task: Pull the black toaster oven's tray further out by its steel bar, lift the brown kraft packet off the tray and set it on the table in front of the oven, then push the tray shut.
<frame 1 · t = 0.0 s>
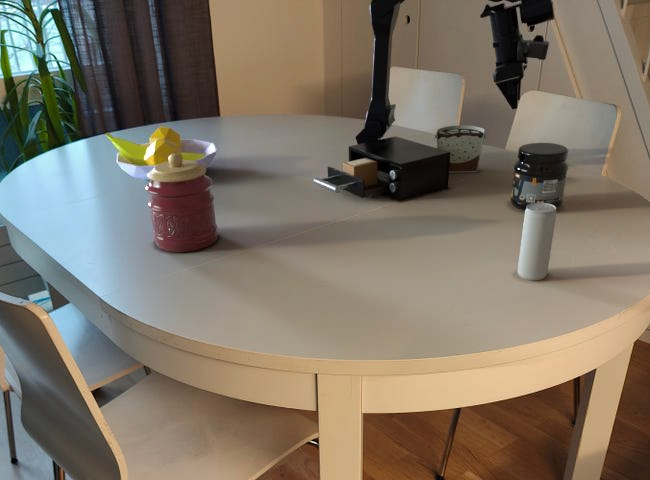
hand: (516, 104, 159), 15 cm above the table, tool pointing down, fingers open, 9 cm apart
packet: (360, 184, 159), point 2 cm above the table, touching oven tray
toaster oven: (397, 184, 163), on the table
fruit bowl: (166, 174, 182), on the table
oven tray: (357, 178, 158), point 3 cm above the table, slide at 7.0 cm, touching packet
supplement container: (535, 206, 145), on the table
kitchen canister: (187, 241, 139), on the table
food container: (456, 169, 171), on the table
beverage can: (531, 276, 116), on the table
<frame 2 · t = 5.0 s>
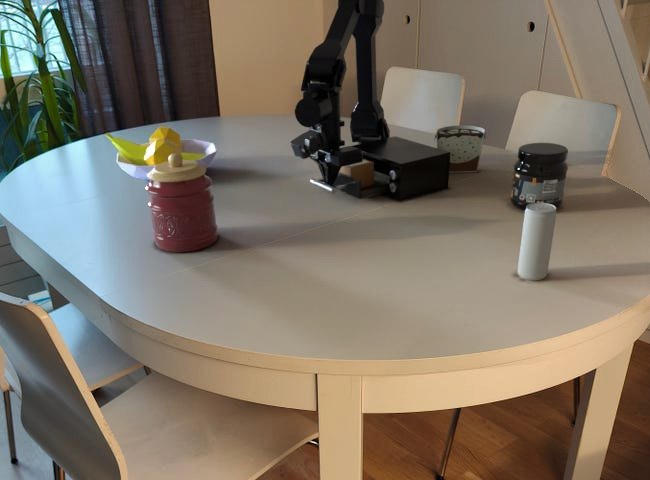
hand: (328, 188, 155), 3 cm above the table, tool pointing down, fingers closed, pressing on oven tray
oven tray: (353, 179, 158), point 3 cm above the table, slide at 7.9 cm, touching gripper, packet
everything else where it was.
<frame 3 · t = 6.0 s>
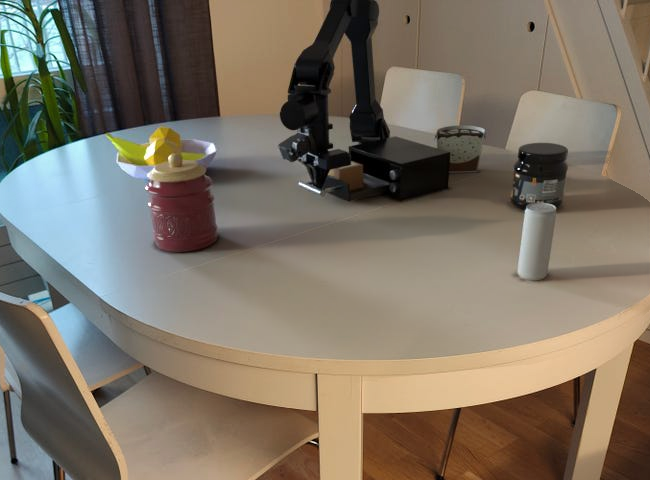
hand: (317, 191, 154), 3 cm above the table, tool pointing down, fingers closed, pressing on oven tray
packet: (346, 188, 157), point 2 cm above the table, touching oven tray
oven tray: (342, 182, 156), point 3 cm above the table, slide at 11.0 cm, touching gripper, packet
everything else where it was.
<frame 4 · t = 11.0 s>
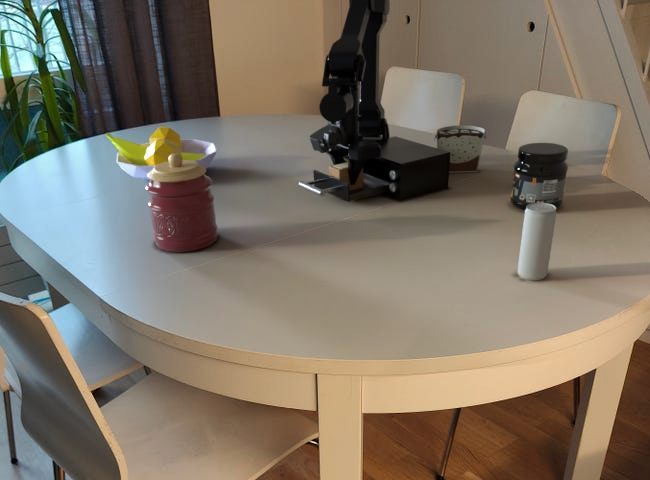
hand: (346, 182, 157), 3 cm above the table, tool pointing down, fingers closed on packet, 4 cm apart
packet: (346, 188, 157), point 2 cm above the table, touching gripper, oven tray
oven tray: (342, 182, 156), point 3 cm above the table, slide at 11.0 cm, touching packet
everything else where it was.
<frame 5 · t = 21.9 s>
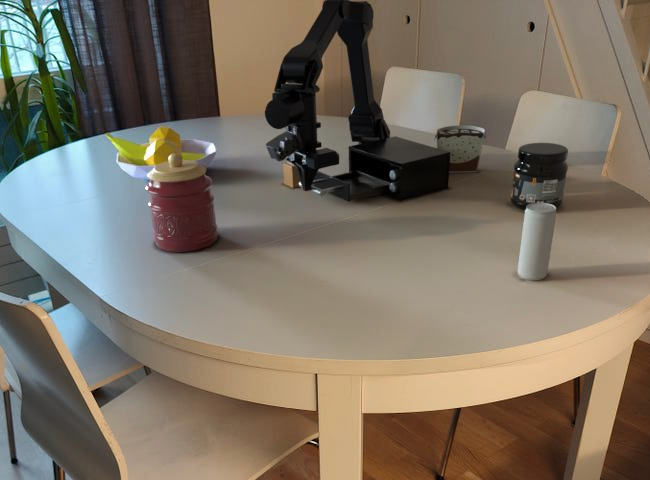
hand: (306, 190, 152), 3 cm above the table, tool pointing down, fingers closed, pressing on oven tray
packet: (299, 183, 168), on the table
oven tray: (342, 182, 156), point 3 cm above the table, slide at 10.9 cm, touching gripper
everything else where it was.
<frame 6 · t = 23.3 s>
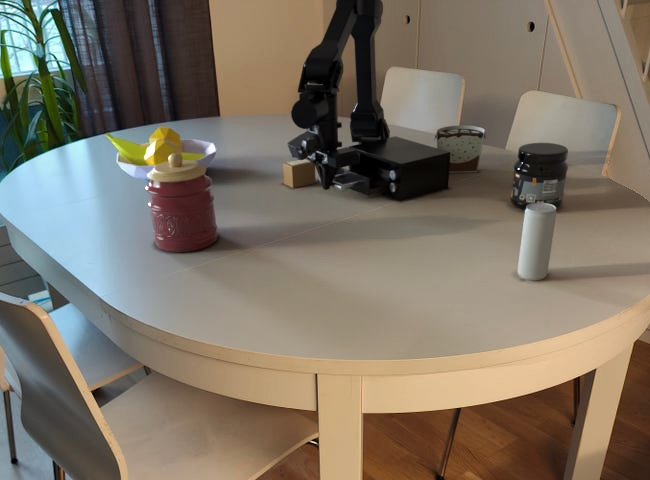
hand: (326, 189, 155), 2 cm above the table, tool pointing down, fingers closed, pressing on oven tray
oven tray: (362, 177, 159), point 3 cm above the table, slide at 5.4 cm, touching gripper
everything else where it was.
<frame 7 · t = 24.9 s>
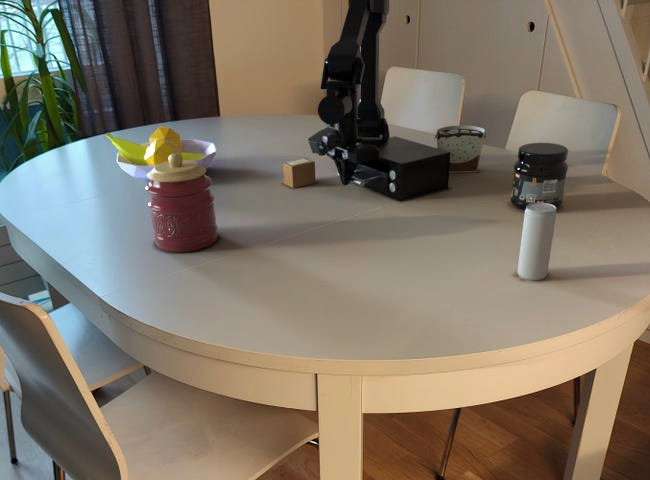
hand: (345, 184, 157), 2 cm above the table, tool pointing down, fingers closed, pressing on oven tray
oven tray: (380, 173, 161), point 3 cm above the table, slide at 0.2 cm, touching gripper
everything else where it was.
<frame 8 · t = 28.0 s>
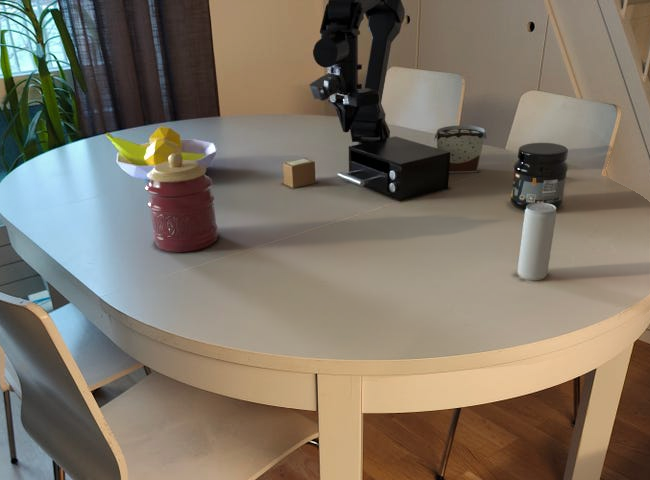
hand: (345, 132, 160), 12 cm above the table, tool pointing down, fingers closed
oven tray: (380, 173, 161), point 3 cm above the table, slide at 0.2 cm
everything else where it was.
at the end: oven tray pulled out 11.0 cm at the most during the clip, back to 0.2 cm at the end; packet inside the target area (0.2 cm from its centre), on the table; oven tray slide at 0.2 cm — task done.
